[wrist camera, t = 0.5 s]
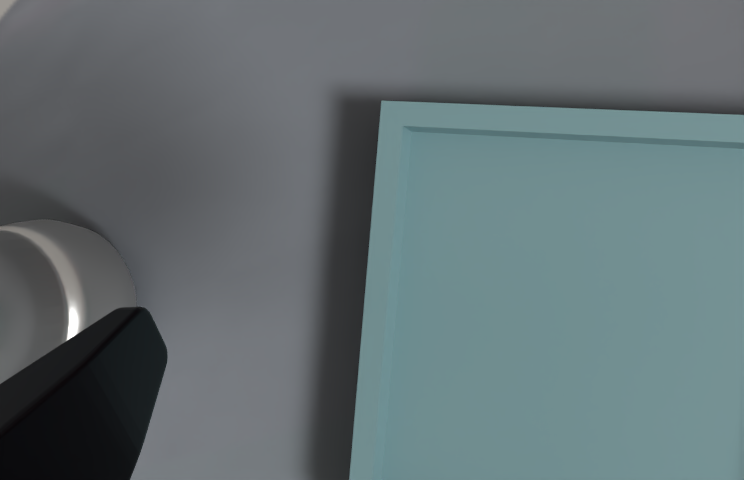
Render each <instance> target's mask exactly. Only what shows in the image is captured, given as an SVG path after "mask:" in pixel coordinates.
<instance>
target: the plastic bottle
mask: <svg viewBox="0 0 744 480" xmlns="http://www.w3.org/2000/svg"><path fill="white" fill-rule="evenodd" d="M121 307H137V305H136V292H135V287H134V282H133V280H132V277H131V274H130V272H129V270H128V268H127V266H126V264H125V263H124V261H123V259H122V258H121V256H120V254H119V253H118V252H117V250H116V249H115V248H114V247H113V246H112V245H111V244H110V243H109V242H108V241H107V240H106V239H104V238H103V237H102V236H100V235H99V234H98V233H96V232H93V231H91V230H89V229H87V228H84V227H80V226H76V225H73V224H69V223H65V222H61V221H56V220H51V219H45V220H32V221H25V222H18V223H10V224H6V225H2V226H0V384H1V383H2V382H4V381H5V380H7V379H8V378H10V377H12V376H13V375H15V374H16V373H18V372H19V371H21V370H22V369H24V368H25V367H27V366H28V365H30V364H32V363H33V362H35V361H36V360H38V359H39V358H41V357H42V356H44V355H45V354H47V353H49V352H50V351H52V350H53V349H55V348H56V347H58V346H59V345H61V344H62V343H64V342H66V341H67V340H69V339H70V338H72V337H73V336H75V335H76V334H78V333H79V332H81V331H82V330H84V329H86V328H87V327H89V326H90V325H92V324H93V323H95V322H96V321H98V320H99V319H101V318H103V317H104V316H106V315H107V314H109V313H110V312H112V311H113V310H115V309H117V308H121Z"/></svg>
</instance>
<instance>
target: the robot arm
mask: <svg viewBox="0 0 744 480" xmlns="http://www.w3.org/2000/svg"><path fill="white" fill-rule="evenodd" d="M166 364H167V349H166V345H165V343H164V341H163V339H162V337H161V335H160V333H159V331H158V328H157V326H156V324H155V322H154V320H153V318H152V316H151V314H150V312H149V311H148V310H147V309H145V308H143V307H121V308H117V309H115V310H113V311H112V312H110V313H109V314H107V315H106V316H104V317H103V318H101V319H99V320H98V321H96V322H95V323H93V324H92V325H90V326H89V327H87V328H86V329H84V330H82V331H81V332H79V333H78V334H76V335H75V336H73V337H72V338H70V339H69V340H67V341H66V342H64V343H62V344H61V345H59V346H58V347H56V348H55V349H53V350H52V351H50V352H49V353H47V354H45V355H44V356H42V357H41V358H39V359H38V360H36V361H35V362H33V363H32V364H30V365H28V366H27V367H25V368H24V369H22V370H21V371H19V372H18V373H16V374H15V375H13V376H12V377H10V378H8V379H7V380H5V381H4V382H2V383H1V384H0V480H130V478H131V476H132V473H133V471H134V468H135V466H136V463H137V460H138V458H139V455H140V452H141V449H142V446H143V443H144V440H145V436H146V433H147V430H148V426H149V423H150V419H151V416H152V412H153V409H154V406H155V402H156V399H157V395H158V392H159V388H160V385H161V382H162V378H163V375H164V371H165V368H166Z"/></svg>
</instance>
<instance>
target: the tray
mask: <svg viewBox="0 0 744 480" xmlns="http://www.w3.org/2000/svg"><path fill="white" fill-rule="evenodd" d="M349 480H744V115H731V114H706V113H681V112H655V111H630V110H605V109H580V108H555V107H529V106H504V105H479V104H454V103H429V102H404V101H381V111H380V123H379V135H378V147H377V158H376V170H375V182H374V194H373V206H372V217H371V229H370V241H369V253H368V264H367V276H366V288H365V300H364V312H363V323H362V335H361V347H360V359H359V370H358V382H357V394H356V406H355V417H354V429H353V441H352V453H351V465H350V476H349Z"/></svg>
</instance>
